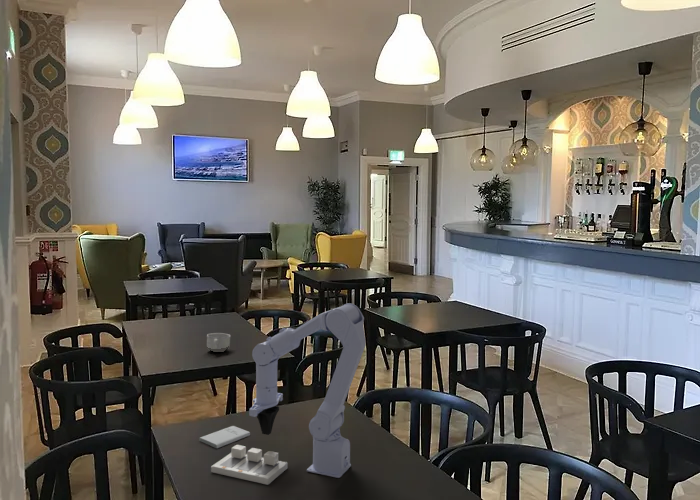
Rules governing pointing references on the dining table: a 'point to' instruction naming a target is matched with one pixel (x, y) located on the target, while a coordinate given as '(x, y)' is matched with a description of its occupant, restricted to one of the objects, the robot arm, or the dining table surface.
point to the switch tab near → (271, 458)
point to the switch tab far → (238, 451)
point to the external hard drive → (224, 436)
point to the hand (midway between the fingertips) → (266, 433)
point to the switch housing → (249, 469)
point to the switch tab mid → (254, 454)
